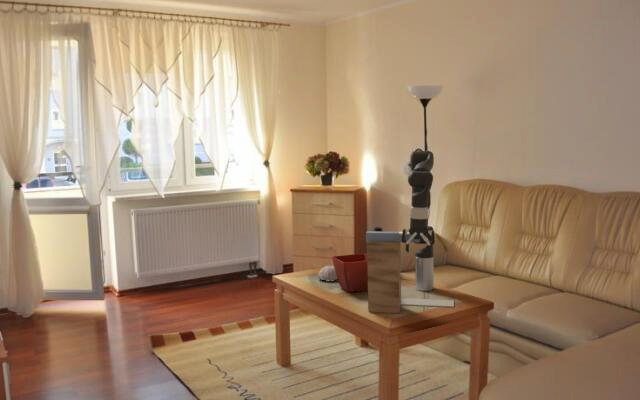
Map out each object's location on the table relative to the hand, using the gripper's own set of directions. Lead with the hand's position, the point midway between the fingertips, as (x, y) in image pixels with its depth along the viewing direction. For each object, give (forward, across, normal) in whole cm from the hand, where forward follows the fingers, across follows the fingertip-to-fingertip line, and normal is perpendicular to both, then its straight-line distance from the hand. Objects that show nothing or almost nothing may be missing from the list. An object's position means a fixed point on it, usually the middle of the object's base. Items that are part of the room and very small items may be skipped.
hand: (417, 252), depth 243 cm
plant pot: (+32, +32, -39) cm, 60 cm away
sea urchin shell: (+34, +49, -58) cm, 83 cm away
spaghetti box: (-3, +11, -6) cm, 13 cm away
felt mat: (+29, -5, -16) cm, 33 cm away
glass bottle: (+34, +22, -72) cm, 83 cm away
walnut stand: (+29, +14, -4) cm, 32 cm away
